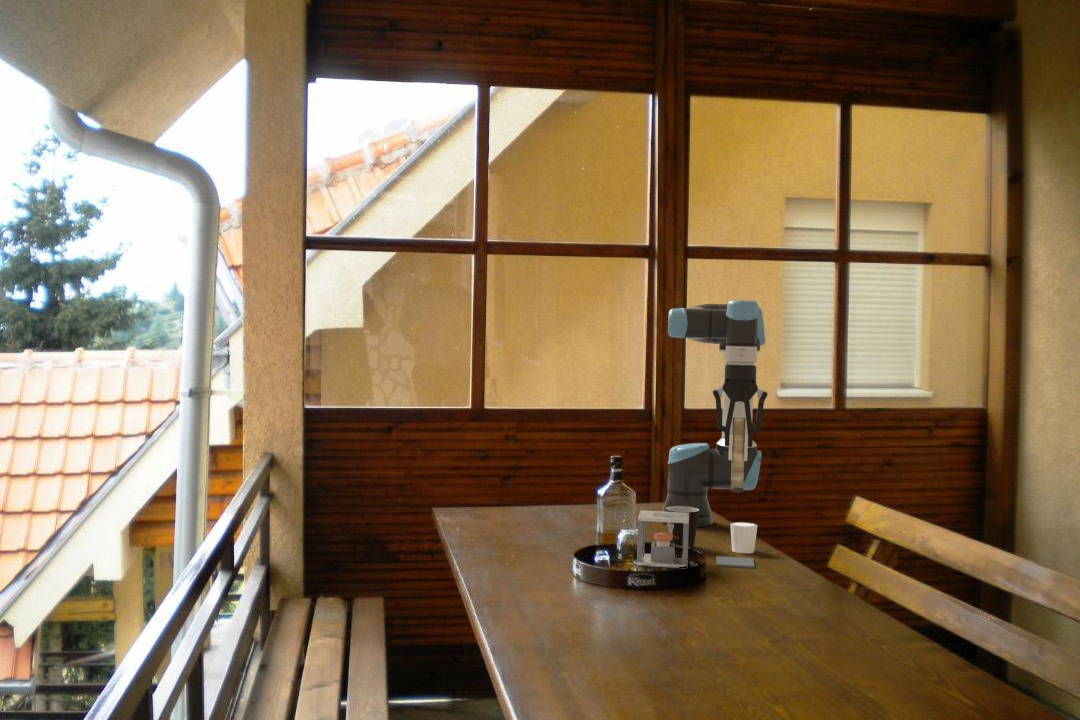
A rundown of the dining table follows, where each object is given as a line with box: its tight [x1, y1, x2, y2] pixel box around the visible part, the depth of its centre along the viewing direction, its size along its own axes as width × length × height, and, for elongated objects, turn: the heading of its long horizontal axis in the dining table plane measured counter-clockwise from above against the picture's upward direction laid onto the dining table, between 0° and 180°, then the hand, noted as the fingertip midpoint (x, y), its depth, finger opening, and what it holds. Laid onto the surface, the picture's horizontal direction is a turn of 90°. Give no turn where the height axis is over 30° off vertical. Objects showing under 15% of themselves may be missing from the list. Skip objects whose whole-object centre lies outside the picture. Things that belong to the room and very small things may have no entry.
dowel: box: [730, 417, 745, 493], centre depth 253 cm, size 3×3×18 cm
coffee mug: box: [666, 506, 699, 549], centre depth 272 cm, size 12×9×10 cm
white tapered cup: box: [730, 521, 758, 554], centre depth 268 cm, size 7×7×7 cm
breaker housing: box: [636, 509, 689, 569], centre depth 252 cm, size 10×12×12 cm
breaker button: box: [653, 532, 673, 547], centre depth 252 cm, size 4×4×6 cm
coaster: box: [715, 555, 756, 569], centre depth 253 cm, size 9×9×1 cm
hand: (737, 459), depth 253 cm, fingers closed on dowel, 3 cm apart
